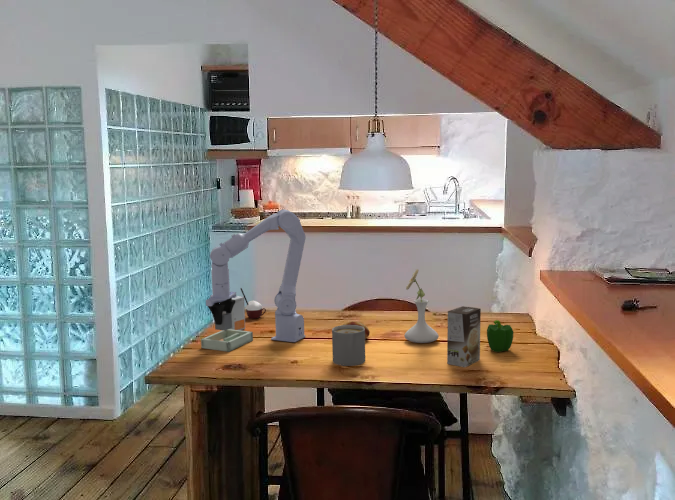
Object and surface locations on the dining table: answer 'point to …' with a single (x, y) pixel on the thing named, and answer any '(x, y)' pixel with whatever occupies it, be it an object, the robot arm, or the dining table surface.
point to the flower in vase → (420, 319)
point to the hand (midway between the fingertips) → (222, 322)
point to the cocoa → (253, 308)
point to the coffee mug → (348, 345)
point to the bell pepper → (499, 336)
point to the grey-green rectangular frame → (227, 340)
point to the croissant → (359, 325)
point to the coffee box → (463, 336)
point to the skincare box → (238, 314)
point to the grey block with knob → (225, 322)
